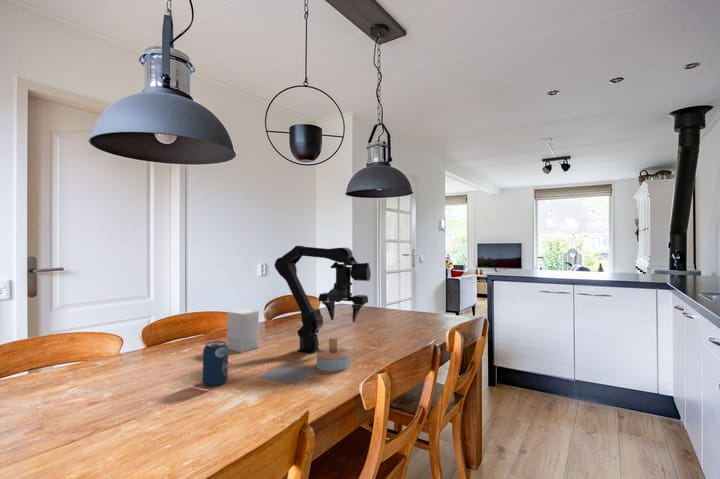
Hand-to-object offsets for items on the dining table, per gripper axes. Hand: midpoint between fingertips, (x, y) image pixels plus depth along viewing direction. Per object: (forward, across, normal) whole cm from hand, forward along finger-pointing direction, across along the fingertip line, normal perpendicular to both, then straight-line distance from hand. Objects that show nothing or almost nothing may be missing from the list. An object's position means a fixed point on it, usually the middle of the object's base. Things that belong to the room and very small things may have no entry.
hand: (342, 320), depth 142 cm
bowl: (+12, +4, -15) cm, 20 cm away
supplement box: (+13, -39, -11) cm, 42 cm away
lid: (+8, +4, -15) cm, 18 cm away
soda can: (+13, -20, -44) cm, 50 cm away
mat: (+12, -5, -28) cm, 31 cm away
